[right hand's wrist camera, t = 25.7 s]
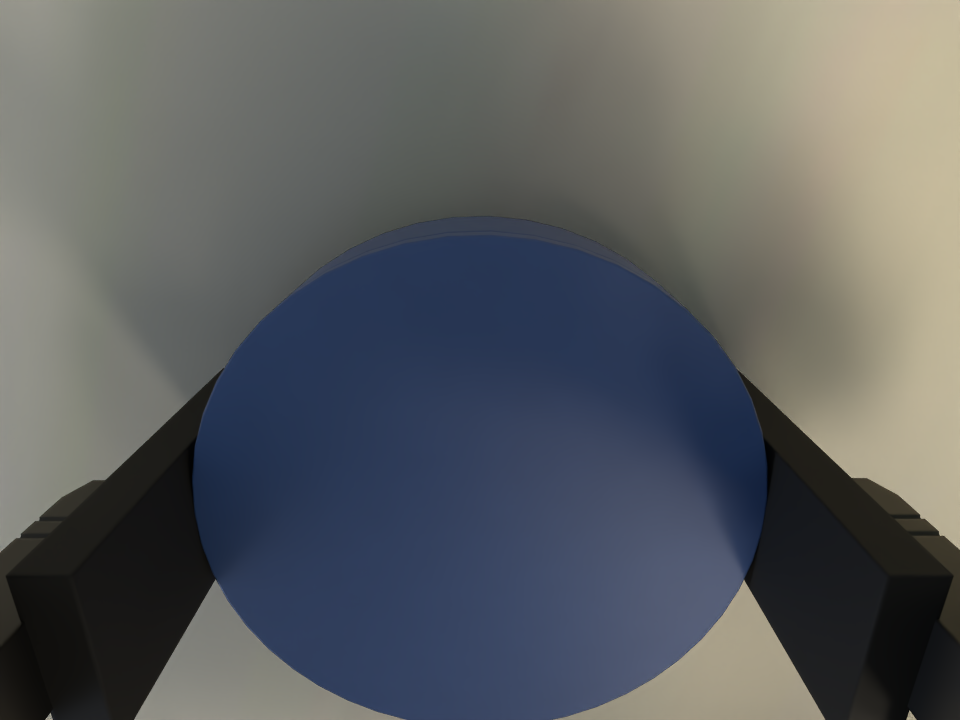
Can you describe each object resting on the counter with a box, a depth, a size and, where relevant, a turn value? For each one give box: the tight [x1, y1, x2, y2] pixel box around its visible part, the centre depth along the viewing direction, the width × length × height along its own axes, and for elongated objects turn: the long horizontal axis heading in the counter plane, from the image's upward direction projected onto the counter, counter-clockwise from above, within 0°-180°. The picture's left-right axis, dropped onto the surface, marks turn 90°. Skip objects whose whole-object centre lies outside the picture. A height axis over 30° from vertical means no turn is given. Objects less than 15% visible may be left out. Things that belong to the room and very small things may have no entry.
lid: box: [192, 216, 767, 720], centre depth 11 cm, size 9×9×2 cm
